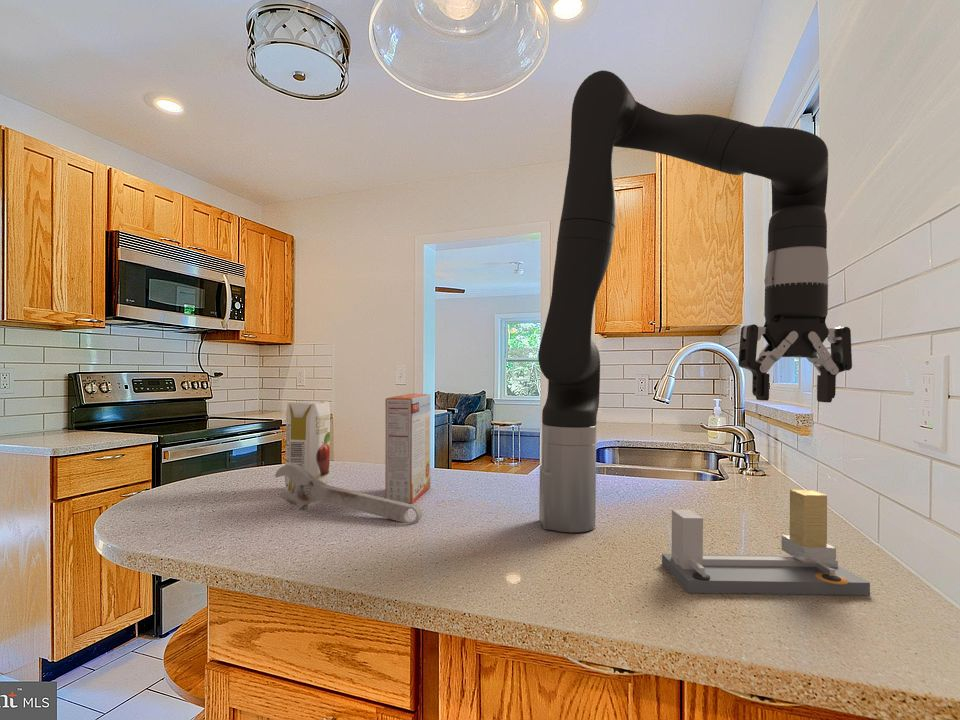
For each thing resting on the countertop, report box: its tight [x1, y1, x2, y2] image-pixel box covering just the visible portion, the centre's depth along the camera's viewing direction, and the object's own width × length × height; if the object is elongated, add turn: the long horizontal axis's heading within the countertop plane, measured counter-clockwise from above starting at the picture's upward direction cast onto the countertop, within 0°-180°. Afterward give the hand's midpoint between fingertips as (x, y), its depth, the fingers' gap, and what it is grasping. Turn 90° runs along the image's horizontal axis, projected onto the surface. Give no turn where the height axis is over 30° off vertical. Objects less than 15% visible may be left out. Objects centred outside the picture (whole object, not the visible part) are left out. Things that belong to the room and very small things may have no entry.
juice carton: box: [284, 400, 331, 492], centre depth 111 cm, size 8×9×19 cm
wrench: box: [274, 464, 423, 524], centre depth 94 cm, size 8×2×30 cm
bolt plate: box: [661, 509, 871, 596], centre depth 67 cm, size 22×10×8 cm, turn 90°
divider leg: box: [781, 489, 837, 576], centre depth 67 cm, size 4×7×9 cm, turn 0°
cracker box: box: [384, 393, 432, 505], centre depth 108 cm, size 14×6×21 cm, turn 170°
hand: (793, 401), depth 72 cm, fingers open, 8 cm apart
